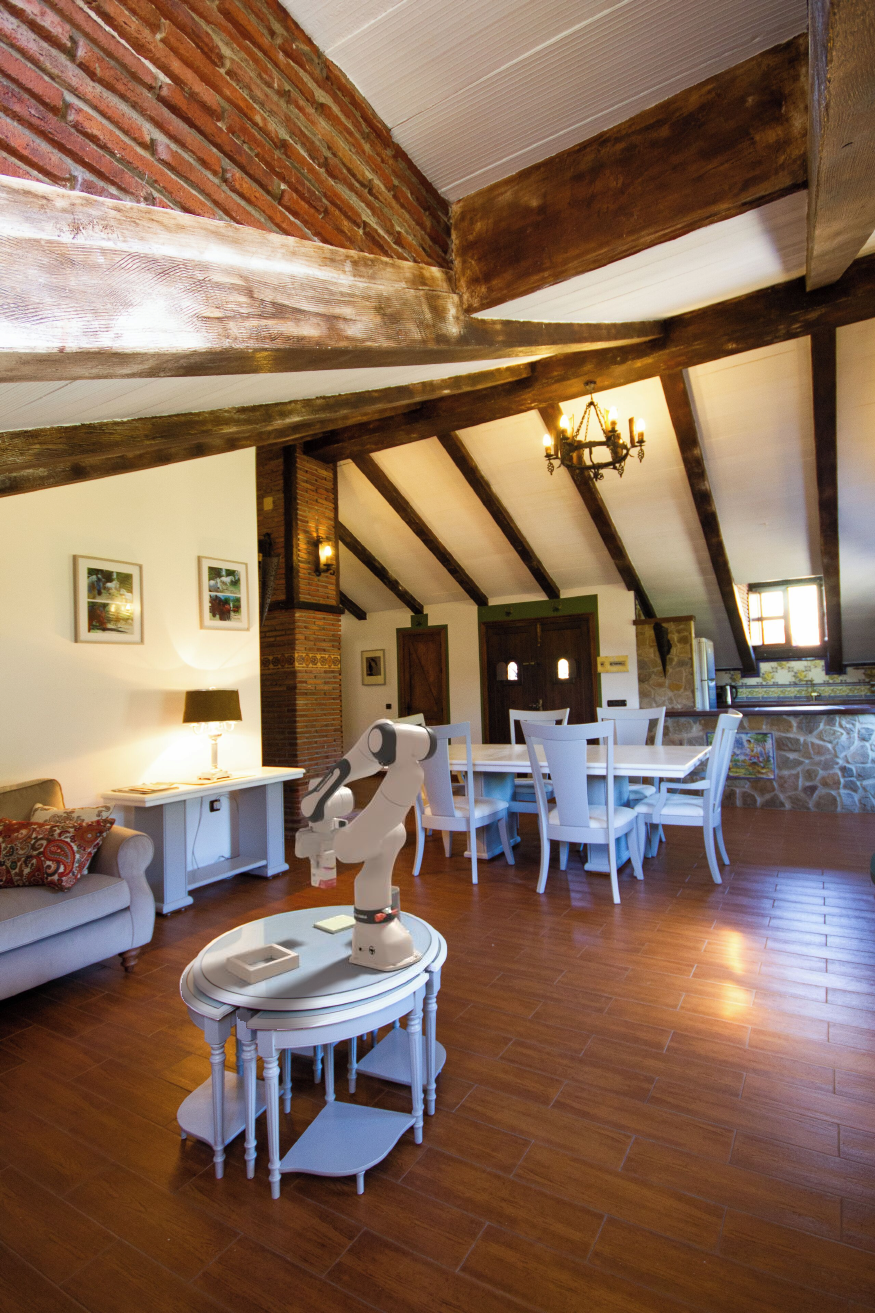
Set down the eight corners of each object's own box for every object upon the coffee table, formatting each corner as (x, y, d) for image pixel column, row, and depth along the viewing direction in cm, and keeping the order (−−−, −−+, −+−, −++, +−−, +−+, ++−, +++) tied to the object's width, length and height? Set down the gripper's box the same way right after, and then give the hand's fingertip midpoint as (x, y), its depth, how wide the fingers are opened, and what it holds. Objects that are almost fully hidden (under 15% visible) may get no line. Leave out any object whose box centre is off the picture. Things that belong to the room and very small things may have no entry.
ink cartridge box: (337, 886, 217) (336, 841, 218) (325, 889, 214) (323, 844, 215) (322, 881, 223) (321, 838, 224) (310, 885, 220) (309, 841, 221)
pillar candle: (366, 932, 214) (364, 886, 215) (389, 924, 220) (387, 879, 221) (384, 940, 207) (381, 891, 208) (407, 931, 213) (405, 884, 214)
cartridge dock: (299, 967, 188) (298, 954, 188) (251, 984, 178) (251, 971, 178) (273, 954, 199) (272, 943, 199) (226, 970, 188) (226, 957, 189)
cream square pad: (363, 924, 223) (362, 921, 223) (333, 933, 215) (333, 930, 215) (342, 917, 232) (342, 914, 232) (313, 926, 223) (313, 923, 223)
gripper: (301, 830, 210) (302, 874, 209) (351, 820, 225) (353, 861, 224) (290, 828, 215) (291, 871, 214) (340, 818, 229) (342, 858, 228)
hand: (323, 866), depth 219 cm, fingers closed on ink cartridge box, 5 cm apart
